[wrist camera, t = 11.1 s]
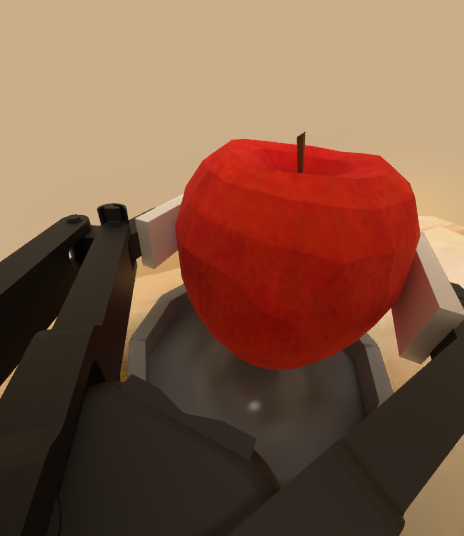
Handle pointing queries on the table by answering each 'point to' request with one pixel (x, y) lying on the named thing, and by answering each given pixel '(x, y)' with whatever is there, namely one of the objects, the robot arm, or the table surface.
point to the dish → (258, 386)
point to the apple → (294, 248)
